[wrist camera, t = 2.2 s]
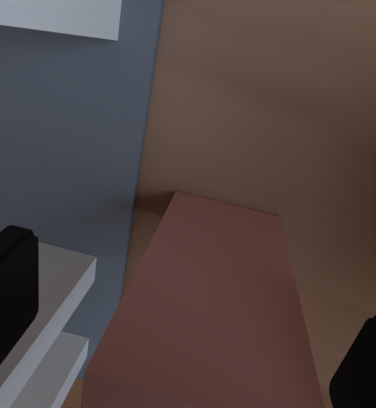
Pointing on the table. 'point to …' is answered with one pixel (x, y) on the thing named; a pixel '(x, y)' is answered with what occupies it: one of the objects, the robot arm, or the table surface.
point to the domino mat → (78, 145)
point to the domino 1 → (64, 16)
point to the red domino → (207, 319)
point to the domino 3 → (54, 373)
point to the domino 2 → (47, 314)
